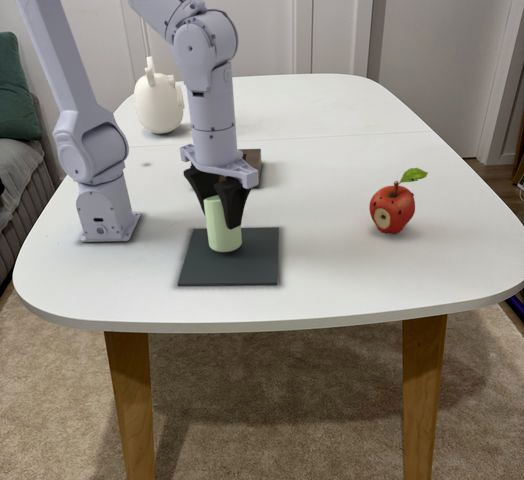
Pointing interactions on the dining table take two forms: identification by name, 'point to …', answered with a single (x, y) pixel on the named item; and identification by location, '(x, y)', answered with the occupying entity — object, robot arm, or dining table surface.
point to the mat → (232, 260)
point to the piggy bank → (158, 101)
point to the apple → (395, 204)
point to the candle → (220, 227)
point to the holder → (250, 161)
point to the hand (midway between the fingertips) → (222, 220)
